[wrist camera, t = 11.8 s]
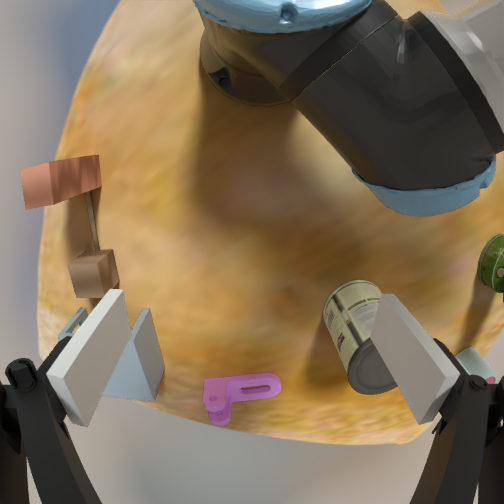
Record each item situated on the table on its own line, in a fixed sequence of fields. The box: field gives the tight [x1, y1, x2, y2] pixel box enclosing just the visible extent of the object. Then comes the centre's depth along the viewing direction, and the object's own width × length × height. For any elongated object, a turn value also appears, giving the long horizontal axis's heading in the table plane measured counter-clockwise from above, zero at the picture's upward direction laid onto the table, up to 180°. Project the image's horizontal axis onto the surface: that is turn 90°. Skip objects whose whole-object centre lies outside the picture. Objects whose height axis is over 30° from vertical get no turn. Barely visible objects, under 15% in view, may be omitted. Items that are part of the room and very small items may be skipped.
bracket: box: [202, 373, 281, 426], centre depth 46 cm, size 13×6×7 cm, turn 98°
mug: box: [455, 347, 498, 384], centre depth 46 cm, size 14×9×10 cm
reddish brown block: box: [21, 155, 119, 298], centre depth 33 cm, size 19×5×12 cm, turn 2°
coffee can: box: [323, 280, 398, 395], centre depth 38 cm, size 10×10×14 cm
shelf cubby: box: [58, 308, 165, 402], centre depth 41 cm, size 12×13×8 cm
